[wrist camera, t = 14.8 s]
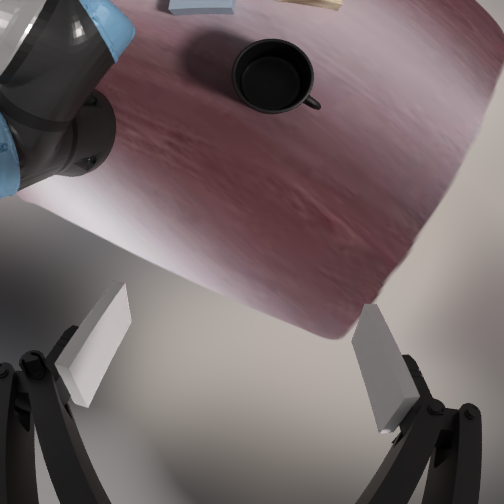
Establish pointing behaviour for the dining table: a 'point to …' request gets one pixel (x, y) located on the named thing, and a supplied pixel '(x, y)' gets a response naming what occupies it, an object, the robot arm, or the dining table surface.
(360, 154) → the dining table surface
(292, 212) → the dining table surface
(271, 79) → the mug
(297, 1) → the block
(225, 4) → the socket block
